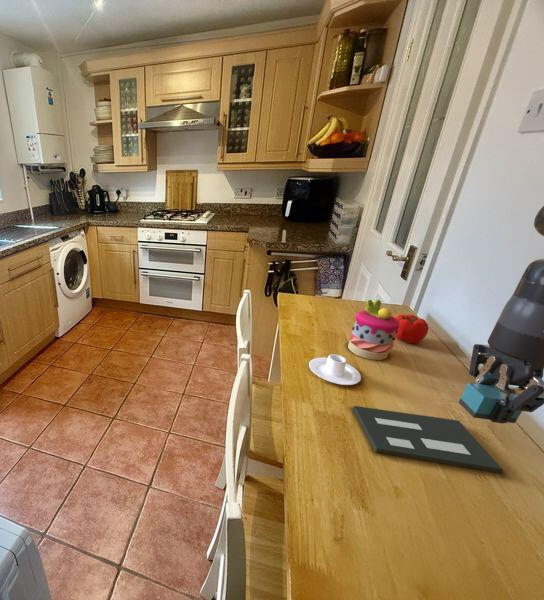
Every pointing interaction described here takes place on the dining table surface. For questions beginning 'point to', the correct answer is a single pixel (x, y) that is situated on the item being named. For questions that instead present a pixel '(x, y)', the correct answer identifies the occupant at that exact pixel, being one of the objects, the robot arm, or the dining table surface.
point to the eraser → (482, 400)
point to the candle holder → (335, 370)
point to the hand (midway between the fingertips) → (486, 411)
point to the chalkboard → (424, 438)
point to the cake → (373, 332)
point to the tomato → (411, 328)
